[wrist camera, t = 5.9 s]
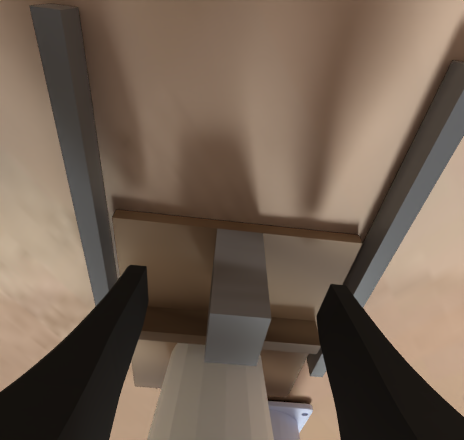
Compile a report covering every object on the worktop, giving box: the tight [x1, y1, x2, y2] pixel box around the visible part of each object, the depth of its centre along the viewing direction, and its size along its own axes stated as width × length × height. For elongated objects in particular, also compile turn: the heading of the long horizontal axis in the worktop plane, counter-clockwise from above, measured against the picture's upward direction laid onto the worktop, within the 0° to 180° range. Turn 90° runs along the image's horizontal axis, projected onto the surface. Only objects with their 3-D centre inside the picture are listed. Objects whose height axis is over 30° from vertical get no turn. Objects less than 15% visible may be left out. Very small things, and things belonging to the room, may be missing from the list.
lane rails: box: [30, 4, 464, 377], centre depth 15 cm, size 18×13×1 cm
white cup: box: [147, 343, 274, 440], centre depth 17 cm, size 7×7×7 cm
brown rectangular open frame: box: [112, 210, 362, 397], centre depth 17 cm, size 15×11×5 cm
